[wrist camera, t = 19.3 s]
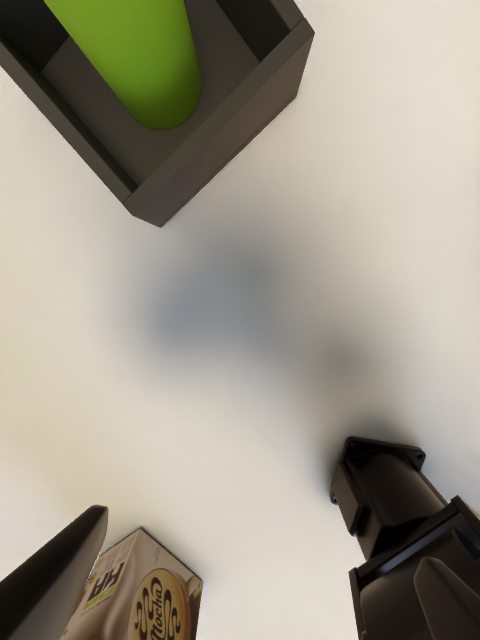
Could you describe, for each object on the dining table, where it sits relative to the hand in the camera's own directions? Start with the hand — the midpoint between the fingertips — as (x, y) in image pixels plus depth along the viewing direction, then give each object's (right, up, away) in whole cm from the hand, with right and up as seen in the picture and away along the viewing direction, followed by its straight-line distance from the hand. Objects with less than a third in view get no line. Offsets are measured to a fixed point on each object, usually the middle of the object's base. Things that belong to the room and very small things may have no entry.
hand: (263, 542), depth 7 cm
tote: (-6, +21, +9) cm, 24 cm away
